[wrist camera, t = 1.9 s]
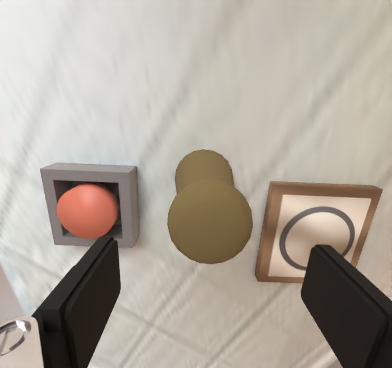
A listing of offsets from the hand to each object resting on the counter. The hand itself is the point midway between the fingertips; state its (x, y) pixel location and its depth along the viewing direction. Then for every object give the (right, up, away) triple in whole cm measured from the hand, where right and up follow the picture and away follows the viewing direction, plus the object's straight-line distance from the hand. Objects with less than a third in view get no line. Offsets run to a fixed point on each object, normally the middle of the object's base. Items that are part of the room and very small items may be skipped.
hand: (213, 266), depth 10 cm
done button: (-11, +2, +11) cm, 16 cm away
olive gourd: (0, +5, +12) cm, 13 cm away
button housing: (-11, +2, +12) cm, 17 cm away
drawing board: (+12, -2, +14) cm, 19 cm away
